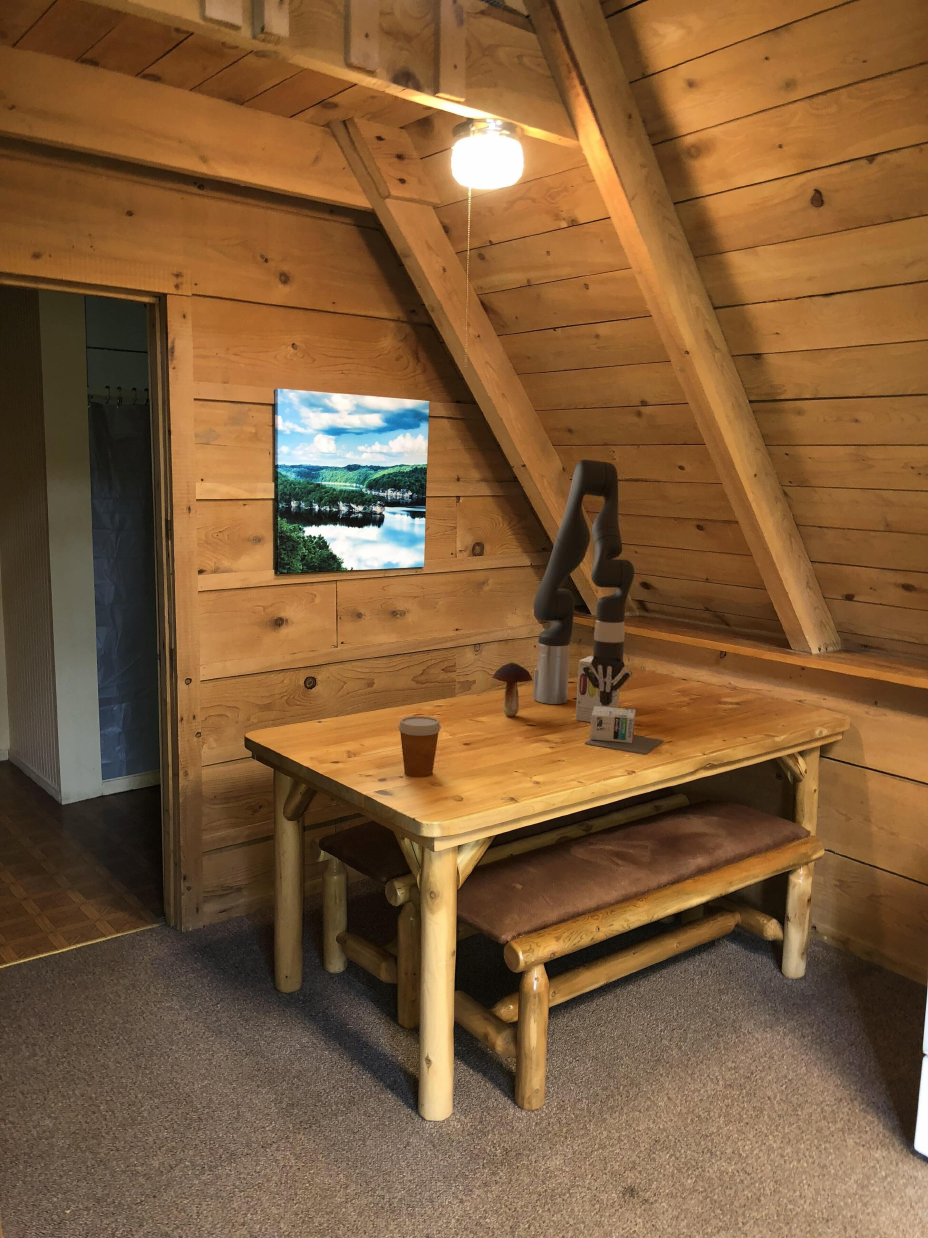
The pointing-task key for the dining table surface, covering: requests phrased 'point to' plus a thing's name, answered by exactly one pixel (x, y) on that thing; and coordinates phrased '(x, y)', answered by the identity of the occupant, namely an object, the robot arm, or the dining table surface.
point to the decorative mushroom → (511, 685)
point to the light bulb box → (612, 724)
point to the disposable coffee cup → (419, 744)
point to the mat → (629, 744)
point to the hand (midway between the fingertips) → (605, 705)
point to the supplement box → (590, 693)
